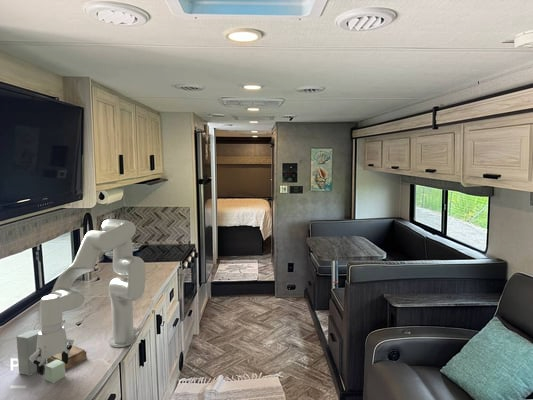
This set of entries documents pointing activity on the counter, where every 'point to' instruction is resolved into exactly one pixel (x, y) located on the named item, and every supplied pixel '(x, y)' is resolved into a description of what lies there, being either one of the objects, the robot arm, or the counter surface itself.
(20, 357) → the skincare box
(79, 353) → the walnut pedestal
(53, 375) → the sage block
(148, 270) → the counter surface
